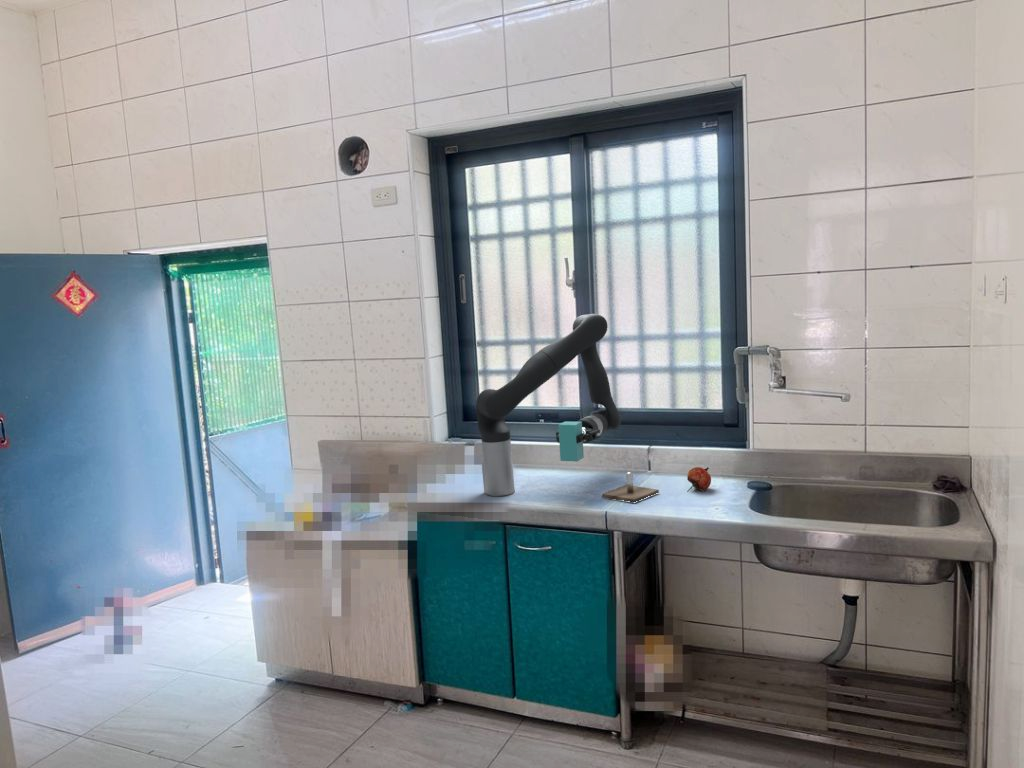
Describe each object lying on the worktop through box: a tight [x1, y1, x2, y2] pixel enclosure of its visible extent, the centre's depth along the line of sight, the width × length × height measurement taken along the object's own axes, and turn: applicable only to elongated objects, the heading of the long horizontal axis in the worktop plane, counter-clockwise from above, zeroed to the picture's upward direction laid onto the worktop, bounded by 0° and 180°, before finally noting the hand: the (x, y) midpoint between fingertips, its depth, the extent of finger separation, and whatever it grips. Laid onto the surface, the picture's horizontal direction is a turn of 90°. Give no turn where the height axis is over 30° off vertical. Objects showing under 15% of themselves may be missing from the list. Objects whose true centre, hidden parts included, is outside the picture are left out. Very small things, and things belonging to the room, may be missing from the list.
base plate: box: [601, 484, 660, 502], centre depth 218 cm, size 12×12×1 cm
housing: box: [557, 421, 585, 462], centre depth 218 cm, size 5×5×11 cm
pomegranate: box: [686, 466, 712, 493], centre depth 217 cm, size 7×7×10 cm
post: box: [625, 471, 634, 493], centre depth 217 cm, size 2×2×6 cm
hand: (567, 439), depth 216 cm, fingers closed on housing, 5 cm apart
